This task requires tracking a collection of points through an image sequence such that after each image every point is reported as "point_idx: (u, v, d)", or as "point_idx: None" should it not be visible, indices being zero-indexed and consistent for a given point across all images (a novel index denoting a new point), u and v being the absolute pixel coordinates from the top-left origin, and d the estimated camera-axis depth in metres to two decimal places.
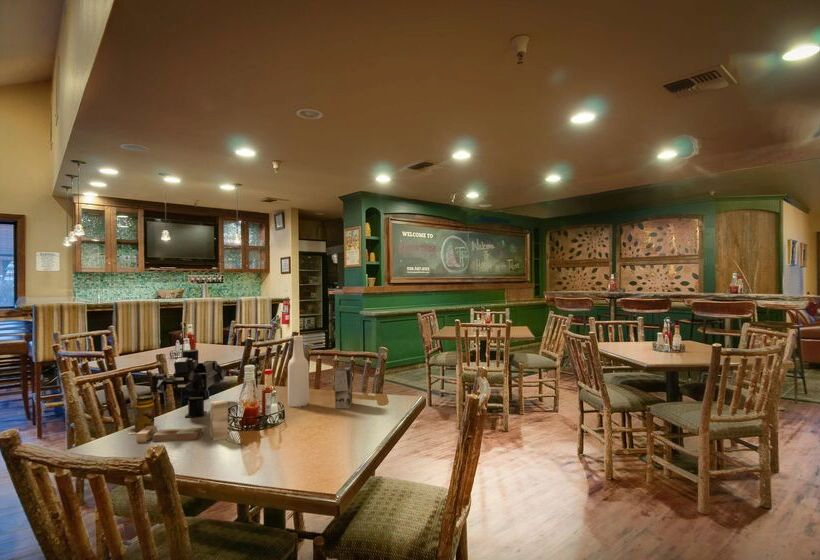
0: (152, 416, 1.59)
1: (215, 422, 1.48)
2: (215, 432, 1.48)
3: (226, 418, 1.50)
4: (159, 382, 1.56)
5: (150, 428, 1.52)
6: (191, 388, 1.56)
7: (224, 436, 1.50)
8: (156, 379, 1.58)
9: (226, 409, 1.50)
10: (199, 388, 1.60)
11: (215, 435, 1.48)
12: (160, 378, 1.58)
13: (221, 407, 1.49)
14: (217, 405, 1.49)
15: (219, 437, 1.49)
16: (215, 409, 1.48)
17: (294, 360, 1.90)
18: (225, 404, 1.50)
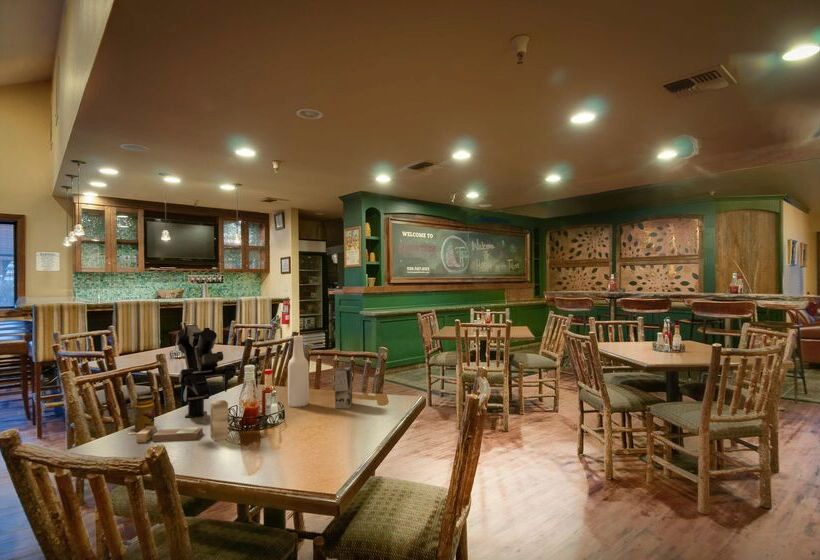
0: (152, 416, 1.59)
1: (215, 422, 1.48)
2: (215, 432, 1.48)
3: (226, 418, 1.50)
4: (195, 384, 1.56)
5: (150, 428, 1.52)
6: None
7: (224, 436, 1.50)
8: (187, 378, 1.56)
9: (226, 409, 1.50)
10: (228, 379, 1.67)
11: (215, 435, 1.48)
12: (192, 377, 1.56)
13: (221, 407, 1.49)
14: (217, 405, 1.49)
15: (219, 437, 1.49)
16: (215, 409, 1.48)
17: (294, 360, 1.90)
18: (225, 404, 1.50)
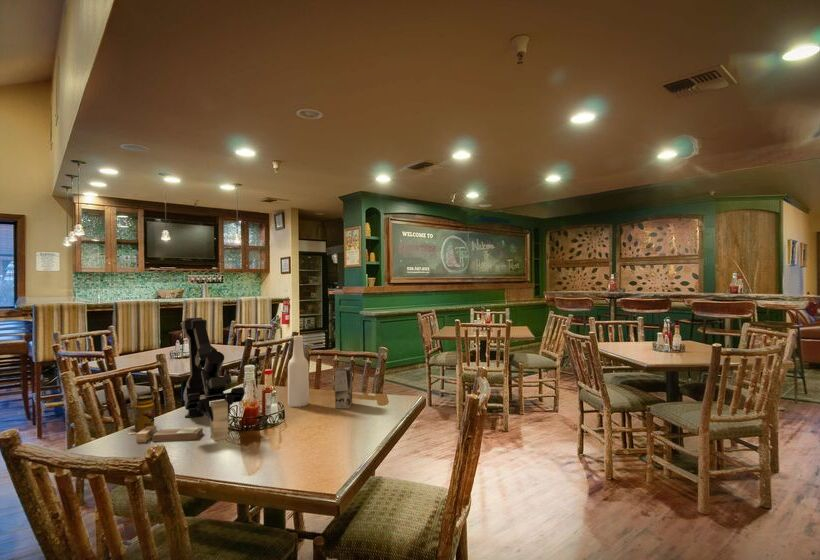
0: (152, 416, 1.59)
1: (215, 422, 1.48)
2: (215, 432, 1.48)
3: (226, 418, 1.50)
4: (208, 409, 1.49)
5: (150, 428, 1.52)
6: None
7: (224, 436, 1.50)
8: (201, 402, 1.49)
9: (226, 409, 1.50)
10: (230, 403, 1.58)
11: (215, 435, 1.48)
12: (206, 402, 1.50)
13: (221, 407, 1.49)
14: (217, 405, 1.49)
15: (219, 437, 1.49)
16: (215, 409, 1.48)
17: (294, 360, 1.90)
18: (225, 404, 1.50)
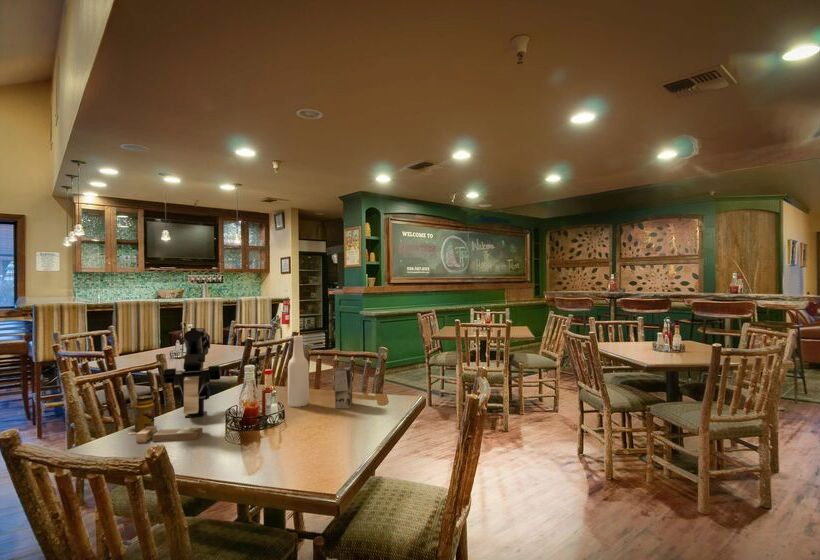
0: (152, 416, 1.59)
1: (185, 397, 1.55)
2: (185, 406, 1.55)
3: (196, 394, 1.57)
4: (181, 384, 1.57)
5: (150, 428, 1.52)
6: (202, 388, 1.61)
7: (194, 411, 1.56)
8: (175, 377, 1.58)
9: (196, 385, 1.57)
10: (207, 380, 1.64)
11: (185, 409, 1.55)
12: (180, 377, 1.58)
13: (191, 383, 1.56)
14: (187, 381, 1.56)
15: (189, 411, 1.56)
16: (185, 384, 1.55)
17: (294, 360, 1.90)
18: (195, 380, 1.57)
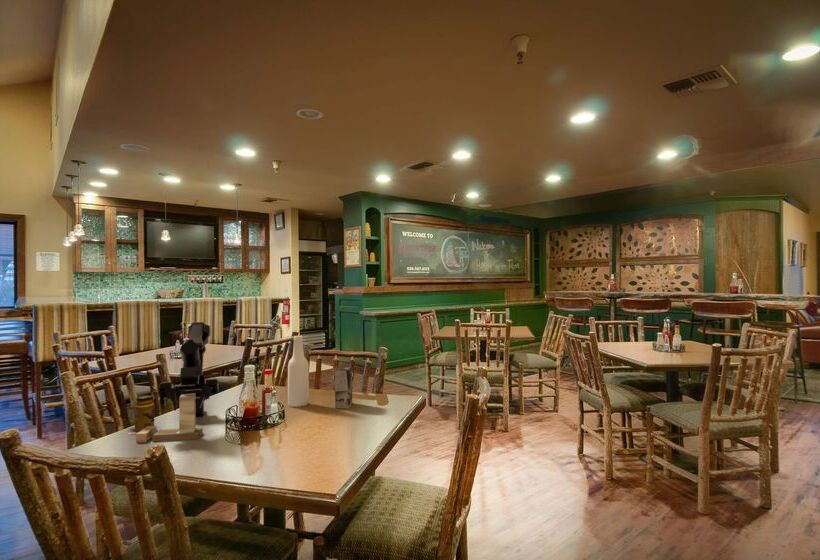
0: (152, 416, 1.59)
1: (181, 415, 1.49)
2: (181, 424, 1.49)
3: (192, 411, 1.50)
4: (173, 399, 1.51)
5: (150, 428, 1.52)
6: (203, 402, 1.55)
7: (190, 429, 1.50)
8: (167, 391, 1.52)
9: (192, 402, 1.51)
10: (208, 394, 1.58)
11: (181, 427, 1.49)
12: (171, 391, 1.51)
13: (187, 400, 1.50)
14: (183, 398, 1.50)
15: (185, 430, 1.50)
16: (181, 402, 1.49)
17: (294, 360, 1.90)
18: (191, 397, 1.50)
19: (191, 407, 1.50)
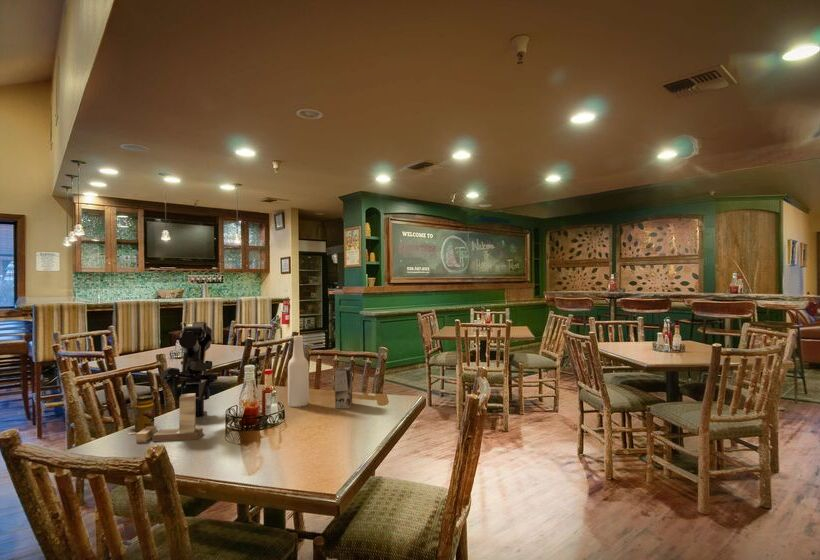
0: (152, 416, 1.59)
1: (181, 415, 1.49)
2: (181, 424, 1.49)
3: (192, 411, 1.50)
4: (175, 386, 1.56)
5: (150, 428, 1.52)
6: None
7: (190, 429, 1.50)
8: (171, 378, 1.56)
9: (192, 402, 1.51)
10: None
11: (181, 427, 1.49)
12: (176, 379, 1.56)
13: (187, 400, 1.50)
14: (183, 398, 1.50)
15: (185, 430, 1.50)
16: (181, 402, 1.49)
17: (294, 360, 1.90)
18: (191, 397, 1.50)
19: (191, 407, 1.50)
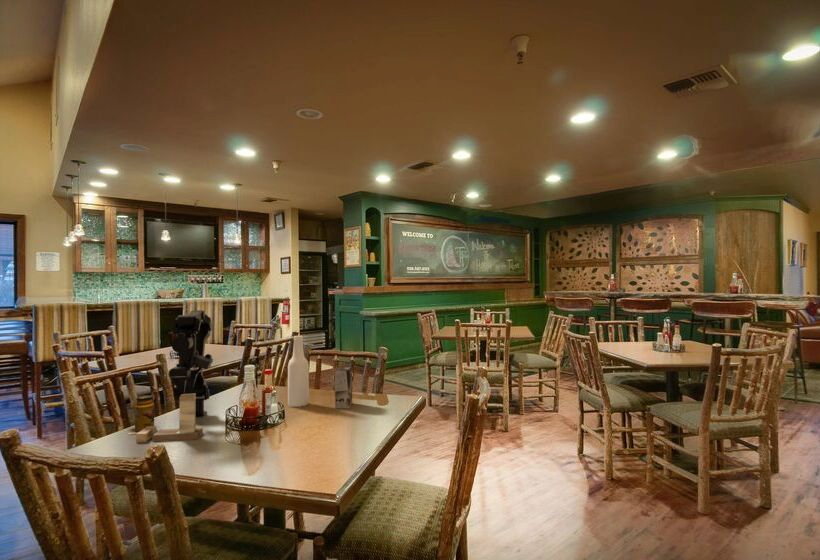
0: (152, 416, 1.59)
1: (181, 415, 1.49)
2: (181, 424, 1.49)
3: (192, 411, 1.50)
4: (185, 384, 1.57)
5: (150, 428, 1.52)
6: None
7: (190, 429, 1.50)
8: (184, 378, 1.55)
9: (192, 402, 1.51)
10: None
11: (181, 427, 1.49)
12: (187, 378, 1.57)
13: (187, 400, 1.50)
14: (183, 398, 1.50)
15: (185, 430, 1.50)
16: (181, 402, 1.49)
17: (294, 360, 1.90)
18: (191, 397, 1.50)
19: (191, 407, 1.50)
